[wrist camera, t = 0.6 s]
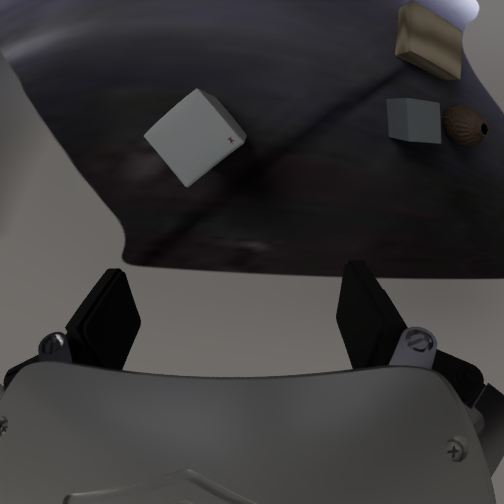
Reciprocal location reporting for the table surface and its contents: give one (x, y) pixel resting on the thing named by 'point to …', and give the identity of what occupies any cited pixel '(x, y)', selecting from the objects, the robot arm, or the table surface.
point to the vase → (465, 125)
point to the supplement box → (195, 136)
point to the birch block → (429, 41)
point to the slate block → (414, 120)
